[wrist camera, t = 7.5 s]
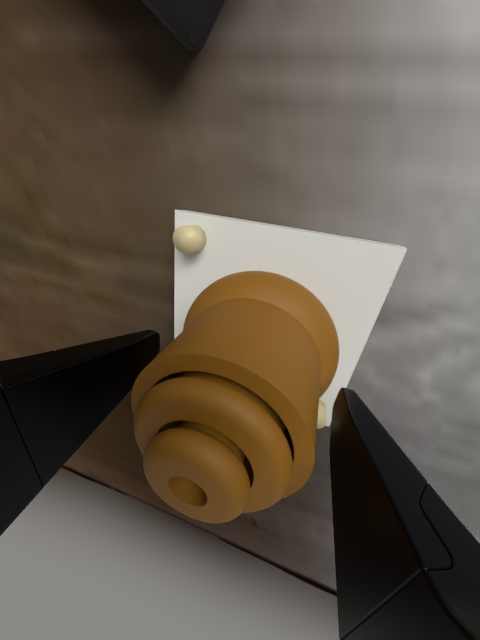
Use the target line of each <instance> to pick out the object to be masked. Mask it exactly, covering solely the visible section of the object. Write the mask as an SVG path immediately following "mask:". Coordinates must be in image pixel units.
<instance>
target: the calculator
mask: <svg viewBox="0 0 480 640" xmlns="http://www.w3.org/2000/svg"><path fill="white" fill-rule="evenodd" d="M141 1H142V2H143V3H144V4H145V5H146V6H147V7H148V8H149V9H150V10H151V11H152V12H153V13H154V14H155V16H156V17H157V18H158V19H159V20H160V21H161V22H162V23H163V24H164V25H165V26H166V27H167V28H168V29H169V30H170V31H171V32H172V33H173V34H174V36H175V37H176V38H177V39H178V40H179V41H180V42H181V43H182V44H183V45H184V46H185V47H186V48H187V49H188V50H189V51H191V52H194V53H195V52H198V51H199V50H200V49H201V48H202V47H203V45H204V43H205V41H206V39H207V37H208V35H209V33H210V31H211V29H212V27H213V24H214V22H215V20H216V18H217V16H218V14H219V12H220V10H221V7H222V5H223V3H224V1H225V0H141Z"/></svg>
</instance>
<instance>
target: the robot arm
mask: <svg viewBox="0 0 480 640" xmlns="http://www.w3.org/2000/svg"><path fill="white" fill-rule="evenodd" d="M159 351H160V336H159V333H158V332H156V331H153V330H146V331H141V332H136V333H132V334H127V335H123V336H118V337H114V338H109V339H104V340H100V341H95V342H91V343H86V344H82V345H77V346H73V347H68V348H63V349H59V350H56V351H50V352H45V353H40V354H35V355H31V356H26V357H21V358H15V359H10V360H4V361H0V536H1V534H2V533H3V532H4V531H5V530H6V529H7V528H8V527H9V526H10V524H11V523H12V522H13V521H14V520H15V519H16V518H17V517H18V516H19V514H20V513H21V512H22V511H23V510H24V509H25V507H26V506H27V505H28V504H29V503H30V502H31V501H32V500H33V499H34V498H35V496H36V495H37V494H38V493H39V492H40V491H41V490H42V488H43V487H44V486H45V485H46V484H47V483H48V482H49V481H50V479H51V478H52V477H53V476H54V475H55V474H56V473H57V472H58V470H59V469H60V468H61V467H62V466H63V465H64V464H65V463H66V462H67V460H68V459H69V458H70V457H71V456H72V455H73V454H74V453H75V452H76V450H77V449H78V448H79V447H80V446H81V445H82V444H83V443H84V441H85V440H86V439H87V438H88V437H89V436H90V435H91V434H92V432H93V431H94V430H95V429H96V428H97V427H98V426H99V425H100V424H101V422H102V421H103V420H104V419H105V418H106V417H107V416H108V415H109V413H110V412H111V411H112V410H113V409H114V408H115V407H116V406H117V405H118V403H119V402H120V401H121V400H122V399H123V398H124V397H125V396H126V394H127V393H128V392H129V391H130V390H131V389H132V388H133V385H134V383H135V380H136V379H137V377H138V375H139V374H140V373H141V372H142V370H143V369H144V368H145V367H146V366H147V365H148V364H149V363H150V362H151V361H152V360H154V359H155V357H156V356H157V355H158V353H159ZM330 470H331V489H332V508H333V527H334V547H335V566H336V585H337V602H338V622H339V639H340V640H480V543H479V542H478V541H477V540H476V539H475V538H474V536H473V535H472V534H471V533H470V532H469V531H468V530H467V529H466V527H465V526H464V525H463V524H462V523H461V522H460V521H459V519H458V518H457V517H456V516H455V515H454V513H453V512H452V511H451V510H450V509H449V507H448V506H447V505H446V504H445V503H444V501H443V500H442V499H441V498H440V497H439V495H438V494H437V493H436V492H435V490H434V489H433V488H432V487H431V485H430V484H428V483H427V481H426V479H425V478H424V477H423V476H422V474H421V473H420V472H419V471H418V469H417V468H416V467H415V466H414V464H413V463H412V462H411V461H410V460H409V458H408V457H407V456H406V455H405V453H404V452H403V451H402V450H401V448H400V447H399V446H398V445H397V443H396V442H395V441H394V440H393V438H392V437H391V436H390V435H389V433H388V432H387V431H386V430H385V429H384V427H383V426H382V425H381V424H380V422H379V421H378V420H377V419H376V417H375V416H374V415H373V414H372V412H371V411H370V410H369V409H368V407H367V406H366V405H365V404H364V403H363V401H362V400H361V399H360V398H359V396H358V395H357V394H356V393H355V391H353V390H351V389H348V388H344V387H342V388H340V390H339V392H338V395H337V397H336V399H335V402H334V404H333V409H332V421H331V435H330Z"/></svg>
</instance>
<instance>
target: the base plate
mask: <svg viewBox="0 0 480 640" xmlns="http://www.w3.org/2000/svg"><path fill="white" fill-rule="evenodd" d="M173 243H174V246H175V299H174V339H175V338H176V337H177V336H178V335H179V334H180V333H181V332H182V331H183V327H184V322H185V319H186V316H187V313H188V311H189V309H190V307H191V305H192V303H193V302H194V300H195V299H196V298H197V296H198V295H199V294H200V293H201V292H202V291H203V290H204V289H205V288H207V287H208V286H209V285H210V284H212V283H213V282H215V281H217V280H218V279H220V278H223V277H225V276H227V275H230V274H234V273H238V272H244V271H265V272H271V273H275V274H279V275H282V276H285V277H287V278H290V279H292V280H294V281H296V282H298V283H299V284H301V285H302V286H304V287H305V288H307V289H308V290H309V291H310V292H312V293H313V294H314V295H315V296H316V297H317V298H318V299H319V300H320V302H321V303H322V304H323V305H324V307H325V308H326V310H327V311H328V313H329V314H330V316H331V318H332V320H333V323H334V325H335V328H336V331H337V335H338V340H339V361H338V366H337V370H336V373H335V376H334V378H333V380H332V382H331V384H330V386H329V387H328V389H327V390H326V392H325V393H324V394H323V395H322V396H321V397H320V398H319V406H318V420H317V429H321V428H323V427H324V426H328V427H329V426H330V423H331V421H332V409H333V404H334V402H335V399H336V397H337V395H338V392H339V390H340V388H342V387H344V388H346V387H347V385H348V382H349V380H350V378H351V376H352V373H353V371H354V369H355V367H356V364H357V362H358V360H359V357H360V355H361V353H362V351H363V348H364V346H365V344H366V342H367V339H368V337H369V335H370V333H371V330H372V328H373V326H374V323H375V321H376V319H377V317H378V314H379V312H380V310H381V308H382V305H383V303H384V301H385V298H386V296H387V294H388V292H389V289H390V287H391V285H392V283H393V280H394V278H395V276H396V273H397V271H398V269H399V267H400V264H401V262H402V260H403V258H404V255H405V253H406V251H407V248H405V247H403V246H401V245H396V244H390V243H383V242H377V241H371V240H365V239H359V238H353V237H347V236H341V235H335V234H329V233H323V232H316V231H310V230H304V229H298V228H292V227H286V226H280V225H274V224H268V223H262V222H256V221H249V220H243V219H237V218H231V217H225V216H219V215H213V214H207V213H201V212H195V211H189V210H175V231H174V233H173Z"/></svg>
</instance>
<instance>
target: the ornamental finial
mask: <svg viewBox="0 0 480 640" xmlns="http://www.w3.org/2000/svg"><path fill="white" fill-rule="evenodd" d="M338 361H339V340H338V335H337V331H336V328H335V325H334V323H333V320H332V318H331V316H330V314H329V313H328V311H327V310H326V308H325V307H324V305H323V304H322V303H321V302H320V300H319V299H318V298H317V297H316V296H315V295H314V294H313V293H312V292H310V291H309V290H308V289H307V288H305V287H304V286H302V285H301V284H299V283H298V282H296V281H294V280H292V279H290V278H287V277H285V276H282V275H279V274H275V273H271V272H265V271H244V272H238V273H234V274H230V275H227V276H225V277H223V278H220V279H218V280H217V281H215V282H213V283H212V284H210V285H209V286H208V287H207V288H205V289H204V290H203V291H202V292H201V293H200V294H199V295H198V296H197V298H196V299H195V300H194V302H193V303H192V305H191V307H190V309H189V311H188V313H187V316H186V319H185V322H184V327H183V331H182V332H181V333H180V334H179V335H178V336H177V337H176V338H175V339H174V340H173V341H172V342H171V343H170V344H169V345H168V346H167V347H166V348H165V349H164V350H163V351H162V352H161V353H160V354H159V355H158V356H157V357H156V358H155V359H154V360H152V361H151V362H150V363H149V364H148V365H147V366H146V367H145V368H144V369H143V370H142V372H141V373H140V374H139V375H138V377H137V379H136V380H135V383H134V385H133V388H132V394H131V406H132V413H133V417H134V433H135V438H136V441H137V444H138V446H139V449H140V451H141V453H142V454H143V468H144V473H145V476H146V478H147V480H148V482H149V484H150V486H151V487H152V489H153V490H154V491H155V492H156V494H157V495H158V496H159V497H160V498H161V499H162V500H163V501H165V502H166V503H167V504H168V505H169V506H171V507H172V508H174V509H175V510H177V511H178V512H180V513H182V514H184V515H186V516H188V517H190V518H193V519H196V520H199V521H203V522H208V523H224V522H228V521H231V520H233V519H235V518H236V517H238V516H239V515H240V514H241V513H250V512H256V511H261V510H264V509H266V508H268V507H270V506H272V505H274V504H275V503H276V502H278V501H279V500H281V499H283V498H286V497H289V496H290V495H292V494H294V493H296V492H297V491H298V490H300V489H301V488H302V487H303V486H304V485H305V483H306V482H307V481H308V479H309V477H310V476H311V474H312V471H313V467H314V461H315V448H316V434H317V420H318V406H319V398H320V397H321V396H322V395H323V394H324V393H325V392H326V390H327V389H328V387H329V386H330V384H331V382H332V380H333V378H334V376H335V373H336V370H337V366H338Z"/></svg>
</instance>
